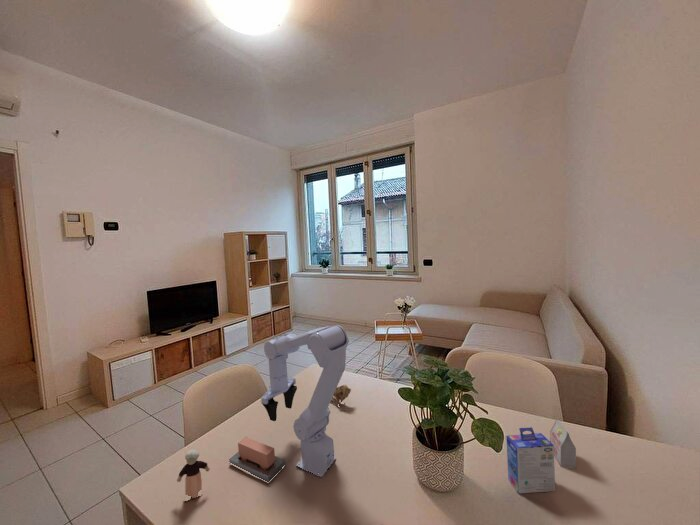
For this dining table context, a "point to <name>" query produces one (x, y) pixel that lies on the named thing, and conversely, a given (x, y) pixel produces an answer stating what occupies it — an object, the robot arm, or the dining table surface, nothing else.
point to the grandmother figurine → (192, 473)
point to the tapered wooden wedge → (256, 453)
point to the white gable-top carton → (563, 446)
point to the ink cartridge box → (530, 462)
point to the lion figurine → (341, 393)
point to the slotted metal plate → (258, 467)
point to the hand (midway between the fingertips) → (281, 413)
